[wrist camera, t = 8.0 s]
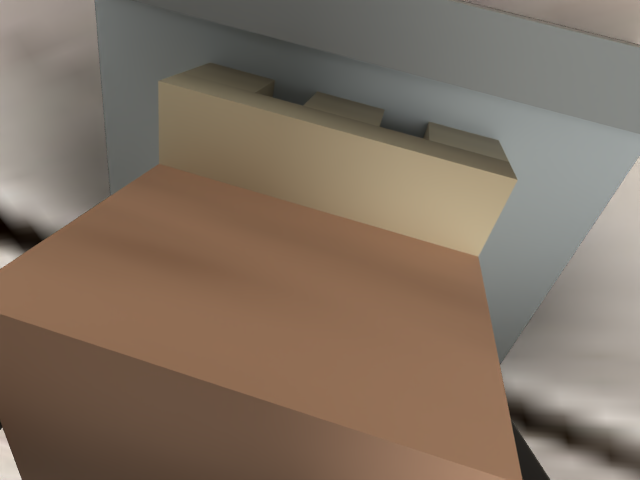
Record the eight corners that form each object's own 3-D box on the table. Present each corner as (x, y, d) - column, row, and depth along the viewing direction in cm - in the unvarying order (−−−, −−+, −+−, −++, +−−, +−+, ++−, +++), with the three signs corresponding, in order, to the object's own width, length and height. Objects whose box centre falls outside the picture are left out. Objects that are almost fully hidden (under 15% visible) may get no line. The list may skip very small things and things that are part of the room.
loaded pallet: (365, 430, 14) (330, 690, 9) (193, 374, 14) (63, 590, 9) (498, 140, 8) (616, 385, 3) (210, 62, 9) (-95, 169, 4)
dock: (438, 390, 15) (442, 516, 12) (162, 303, 16) (85, 396, 13) (637, 44, 9) (786, 84, 5) (159, -75, 10) (-3, -112, 6)
